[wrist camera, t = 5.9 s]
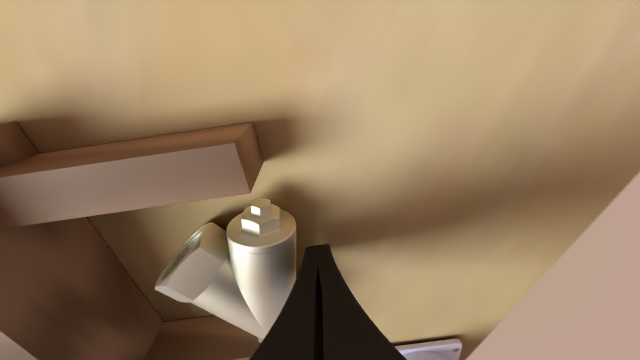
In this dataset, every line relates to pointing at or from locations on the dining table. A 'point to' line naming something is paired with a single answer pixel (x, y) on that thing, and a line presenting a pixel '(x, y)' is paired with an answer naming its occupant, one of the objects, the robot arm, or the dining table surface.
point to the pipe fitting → (237, 268)
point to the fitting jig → (93, 253)
